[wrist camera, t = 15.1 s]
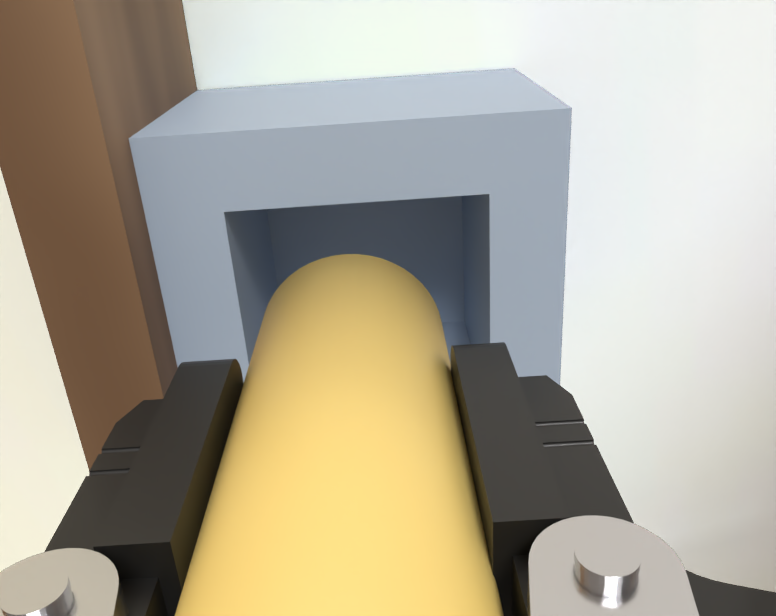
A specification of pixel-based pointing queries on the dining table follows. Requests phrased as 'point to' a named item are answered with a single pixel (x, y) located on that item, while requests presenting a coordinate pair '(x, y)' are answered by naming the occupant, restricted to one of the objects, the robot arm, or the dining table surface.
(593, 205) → the dining table surface
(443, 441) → the dowel
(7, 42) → the wall
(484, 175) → the socket block
